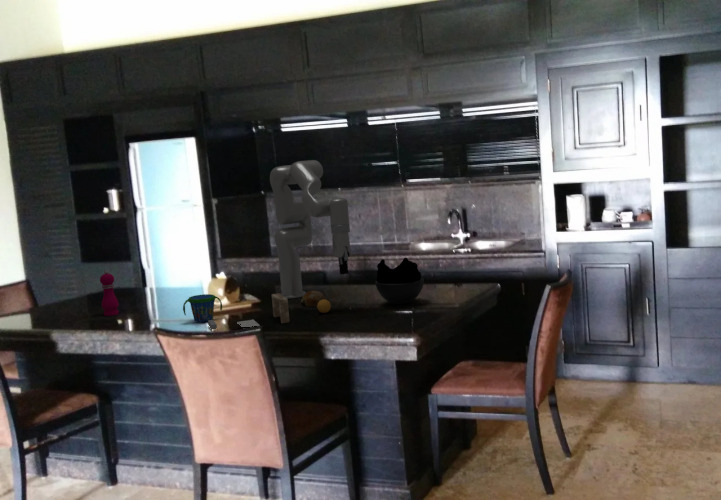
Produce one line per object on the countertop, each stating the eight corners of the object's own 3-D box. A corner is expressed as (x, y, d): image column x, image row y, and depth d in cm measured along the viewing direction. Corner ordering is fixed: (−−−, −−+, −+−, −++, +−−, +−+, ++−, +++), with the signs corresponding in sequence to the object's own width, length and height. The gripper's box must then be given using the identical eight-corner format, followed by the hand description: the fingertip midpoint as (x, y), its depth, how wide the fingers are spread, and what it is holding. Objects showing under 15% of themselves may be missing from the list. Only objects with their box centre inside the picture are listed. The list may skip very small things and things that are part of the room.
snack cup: (222, 316, 318) (220, 292, 316) (224, 321, 308) (221, 296, 306) (184, 320, 314) (181, 296, 313) (184, 326, 304) (181, 301, 303)
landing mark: (223, 324, 302) (223, 324, 302) (253, 320, 306) (253, 319, 306) (229, 330, 290) (228, 330, 290) (259, 325, 294) (259, 325, 294)
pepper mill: (123, 312, 341) (117, 268, 338) (113, 316, 334) (107, 271, 332) (109, 312, 344) (104, 268, 341) (99, 316, 337) (93, 271, 334)
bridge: (282, 323, 296) (280, 300, 295) (273, 316, 309) (271, 294, 308) (289, 322, 297) (287, 299, 296) (280, 315, 310) (278, 293, 309)
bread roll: (318, 315, 322) (325, 298, 320) (296, 306, 323) (302, 289, 322) (324, 310, 332) (330, 293, 330) (302, 301, 333) (309, 284, 331)
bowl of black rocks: (435, 300, 316) (432, 256, 313) (404, 310, 302) (401, 264, 299) (398, 296, 330) (395, 254, 327) (367, 306, 315) (363, 261, 313)
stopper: (208, 326, 300) (207, 320, 299) (213, 326, 300) (212, 319, 300) (212, 331, 291) (211, 325, 291) (217, 330, 292) (216, 324, 292)
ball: (316, 312, 311) (315, 299, 310) (329, 310, 312) (327, 297, 312) (320, 315, 306) (318, 301, 305) (333, 313, 307) (332, 299, 307)
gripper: (326, 228, 313) (329, 272, 316) (337, 231, 299) (341, 277, 302) (343, 226, 316) (346, 270, 318) (355, 229, 302) (358, 275, 304)
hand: (344, 273), depth 310 cm, fingers closed
